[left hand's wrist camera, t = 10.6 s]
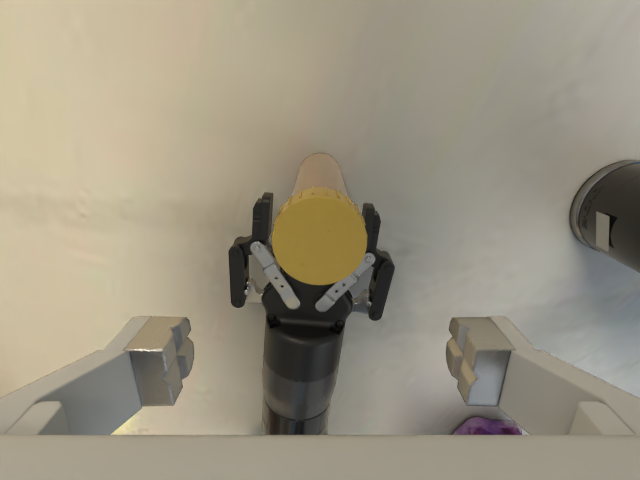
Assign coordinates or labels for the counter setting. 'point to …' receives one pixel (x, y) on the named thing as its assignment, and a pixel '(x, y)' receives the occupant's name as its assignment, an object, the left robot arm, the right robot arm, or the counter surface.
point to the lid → (319, 236)
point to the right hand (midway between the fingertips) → (318, 199)
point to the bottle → (319, 174)
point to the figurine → (488, 427)
